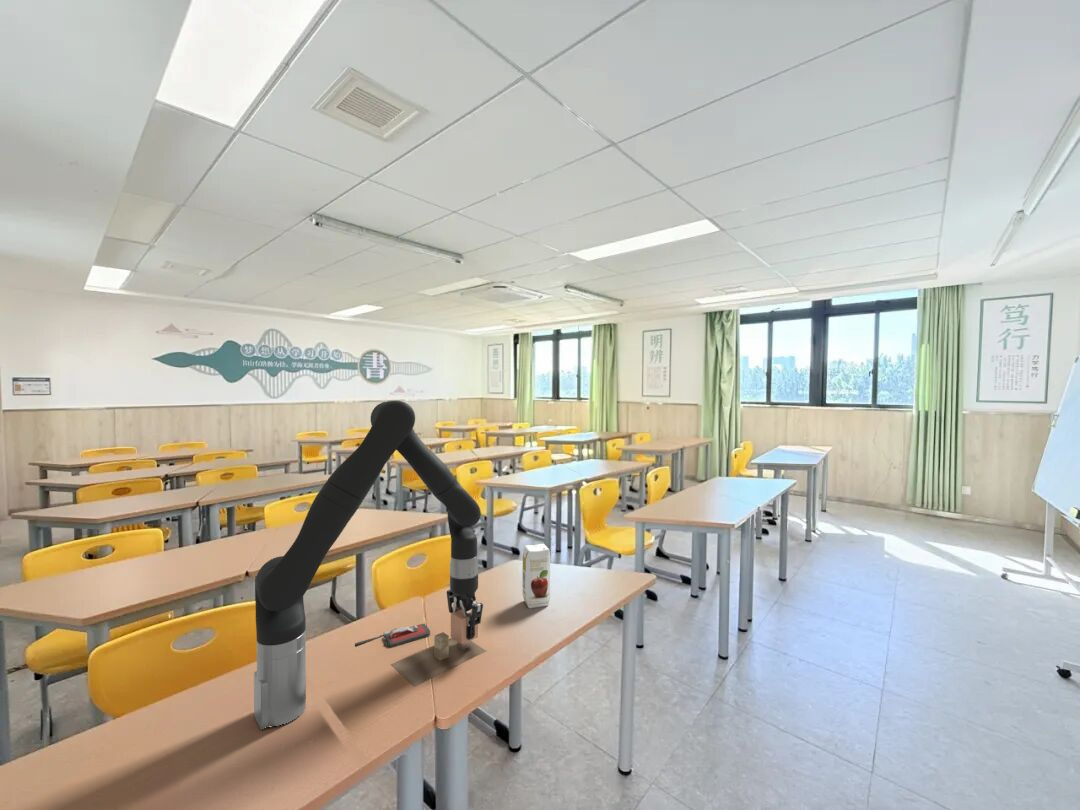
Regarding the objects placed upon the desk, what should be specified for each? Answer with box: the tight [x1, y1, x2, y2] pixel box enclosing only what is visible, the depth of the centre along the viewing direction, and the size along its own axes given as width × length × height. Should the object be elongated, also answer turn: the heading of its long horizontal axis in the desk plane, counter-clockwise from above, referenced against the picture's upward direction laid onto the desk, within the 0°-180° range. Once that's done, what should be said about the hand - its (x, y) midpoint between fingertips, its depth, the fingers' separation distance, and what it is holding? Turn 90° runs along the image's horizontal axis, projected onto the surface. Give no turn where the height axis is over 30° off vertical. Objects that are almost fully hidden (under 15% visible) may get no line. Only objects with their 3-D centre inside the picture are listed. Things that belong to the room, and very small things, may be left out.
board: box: [390, 631, 487, 687], centre depth 116 cm, size 21×12×7 cm, turn 134°
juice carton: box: [521, 543, 551, 609], centre depth 150 cm, size 8×9×19 cm
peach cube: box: [450, 610, 479, 644], centre depth 121 cm, size 5×5×7 cm
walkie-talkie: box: [354, 622, 431, 648], centre depth 125 cm, size 9×4×20 cm
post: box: [457, 640, 472, 650], centre depth 121 cm, size 3×3×6 cm
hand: (464, 633), depth 121 cm, fingers closed on peach cube, 5 cm apart
